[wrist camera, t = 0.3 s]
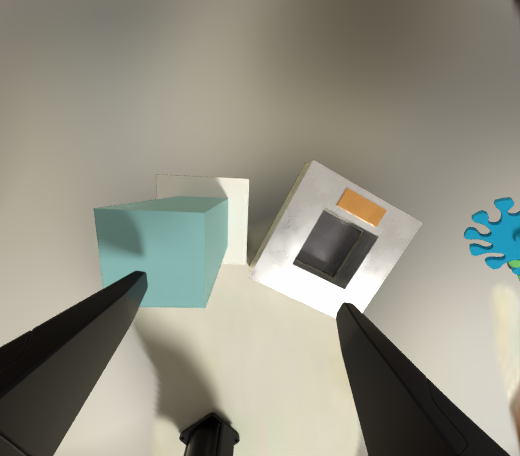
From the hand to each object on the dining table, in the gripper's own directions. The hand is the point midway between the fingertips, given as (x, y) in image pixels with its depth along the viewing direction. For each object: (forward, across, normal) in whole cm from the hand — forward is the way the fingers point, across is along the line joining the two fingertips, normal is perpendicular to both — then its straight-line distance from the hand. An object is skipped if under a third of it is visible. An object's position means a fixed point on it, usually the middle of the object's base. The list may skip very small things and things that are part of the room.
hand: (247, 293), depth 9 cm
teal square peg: (+12, +5, +4) cm, 13 cm away
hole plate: (+14, -10, +5) cm, 18 cm away
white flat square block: (+14, +5, +5) cm, 16 cm away
